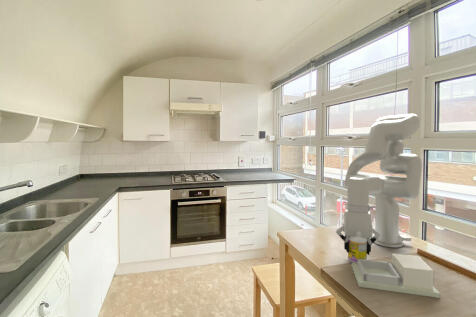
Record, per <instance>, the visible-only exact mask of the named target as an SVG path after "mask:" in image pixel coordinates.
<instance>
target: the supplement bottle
mask: <svg viewBox="0 0 476 317" xmlns="http://www.w3.org/2000/svg"><path fill="white" fill-rule="evenodd" d="M356 234H357V235H358V236H356V237H350V239H349V240H348V242H349V252H348V253H347V259H348V260H349V262H351V264H352V263H356V264H357V259H365V260H368V258H367V257H368V256H367V255H368V254H367V239H366V238H362V237H360V235H362V234H361V232H357V233H356Z"/></svg>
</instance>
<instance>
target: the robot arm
mask: <svg viewBox="0 0 476 317" xmlns="http://www.w3.org/2000/svg"><path fill="white" fill-rule="evenodd" d="M420 126H421V119H420V118H419V116H418V115H417V114H415V113H406V114H405V113H404V114H396V115H387V116H383V117H379V118H377V119H376V121H375V123H373V124H372V125H371V127H370V131H369V133H368V137H367V141H366V144H365V148H364V151H363V152H362V153H360V154H359V155H358V156H356V157H355V158H354V159H353V160H352V161H351V163H350V164H349V166H348V167H347V171H346V173H345V179H344V186H345V188H346V189H347V193H346V194H347V199H346V200H347V202H346V203H347V209H345V210H344V213H343V221H342V223H343V224H342V225H341V227H340V226H339V228H337V229H335V230H336V231H335V233H336V234H337V236H338V237H340V239H341V240H342V241H343V243H344V244H343V247H344V250H345V251H346V253H347V254H348V252H349V242H348V240H349V239H350V237H356V236H358V235H357V234H356V233H357V232H361V234H362V235H360V237H362V238H366V239H367V255H368V256H370V253H371V252H372V245H373V244H376V245H379V246H382V247H386V248H394V249H395V248H397V249H398V248H401V247H403V244H404V242H412V238H411V237H410V236H406V235H404V234H402V235H401V234H400V205H399V203H398V201H397V200H396V199H403V200H410V201H411V200H415V199H417V197H418V196H419V193H420V189H421V188H420V186H421V179H422V167H423V165H422V164H423V163H422V160H421V157H420V156H419V155H417V154H414V153H404V148H405V147H404V144H405V143H404V142H403V140H408V139H409V138H410V137H412V135H414V134H416V132H418V130H419V128H420ZM378 161H380V163H379V169H380V172H382V173H385V174H390V175H379V176H377V175H370V174H359V172H360V171H361V169H363V168H364V167H366V166H368V165H370V164H373V163H376V162H378ZM391 174H392V175H391ZM393 175H404V176H405V177H403V176H402V177H401V176H393ZM370 195H374V199H375V202H374V204H375V206H374V207H375V209H374V210H375V211H374V220H375V221H374V228H373V219H372V215H371V211H372V210H373V208H374V207H373V205H370V204H369V203H370V201H369V200H370V199H369V197H370ZM395 198H396V199H395ZM370 210H371V211H370ZM342 232H343V233H344V234H342Z"/></svg>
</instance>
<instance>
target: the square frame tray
mask: <svg viewBox="0 0 476 317" xmlns="http://www.w3.org/2000/svg"><path fill="white" fill-rule="evenodd" d="M391 255H392V256H391V260H392V261H391V262H390V261H382V260H380V261H379V260H374V259H373V260H372V259H367V260H365V259H357V264H356V263H352V262H351V269H352V268H353V269H352V272H353V271H354V272H353V274H355V275H354V278H355V280H356V282H357V285H358V287H359V288H366V289H373V290H379V291H387V292H395V293H401V294H402V293H403V294H408V295H414V296H417V295H418V296H422V297H431V298H437V299H440V296H441V294H440V291H439V290H438V289H437V288H436V287H435V286H434V271H435V270H434V269H433V268H431V266H429V265H428V264H427V262H425V261H424V259H422V258H421V256H419V255H414V254H405V253H392V254H391Z"/></svg>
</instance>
